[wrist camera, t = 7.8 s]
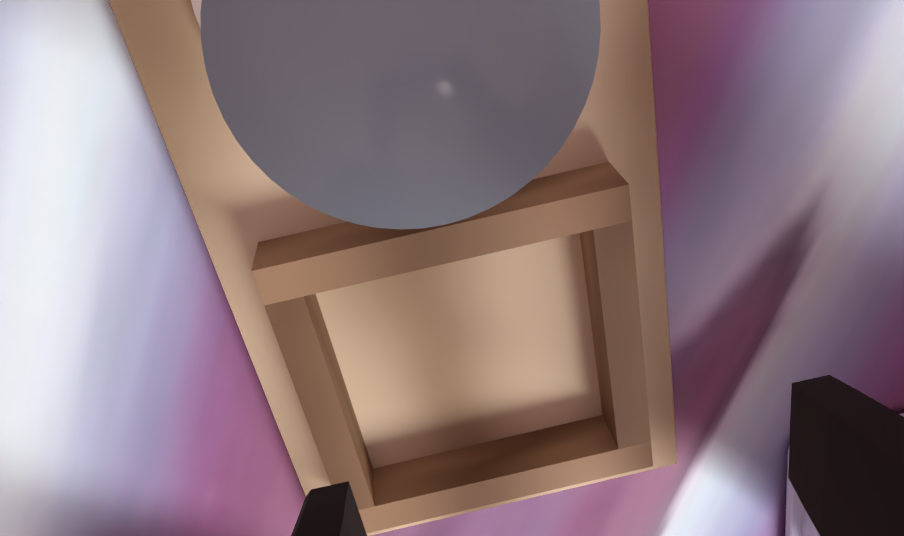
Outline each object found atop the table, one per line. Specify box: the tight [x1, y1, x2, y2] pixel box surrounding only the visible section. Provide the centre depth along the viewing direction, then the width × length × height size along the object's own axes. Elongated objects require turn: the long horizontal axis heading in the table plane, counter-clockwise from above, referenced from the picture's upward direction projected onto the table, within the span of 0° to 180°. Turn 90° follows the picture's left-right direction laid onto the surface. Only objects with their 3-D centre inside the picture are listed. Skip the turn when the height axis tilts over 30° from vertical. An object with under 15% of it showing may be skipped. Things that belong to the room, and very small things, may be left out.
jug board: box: [109, 0, 678, 536], centre depth 20 cm, size 12×22×2 cm, turn 11°
